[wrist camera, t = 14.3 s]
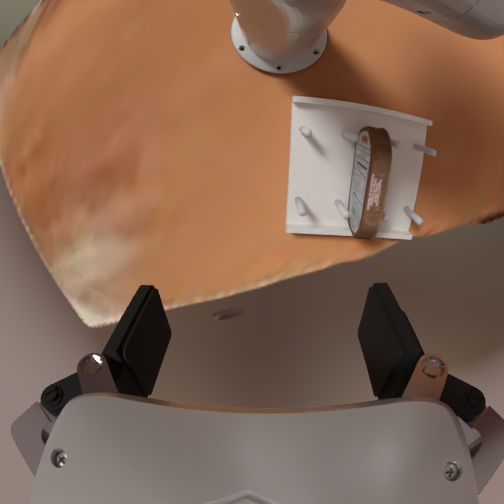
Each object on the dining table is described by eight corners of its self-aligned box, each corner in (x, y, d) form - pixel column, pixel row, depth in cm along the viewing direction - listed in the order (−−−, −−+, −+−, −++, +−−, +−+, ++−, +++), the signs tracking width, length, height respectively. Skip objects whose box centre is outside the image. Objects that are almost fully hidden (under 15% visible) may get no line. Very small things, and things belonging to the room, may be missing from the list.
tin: (360, 224, 39) (378, 252, 32) (340, 223, 39) (356, 251, 32) (373, 125, 32) (400, 132, 24) (352, 122, 32) (375, 126, 24)
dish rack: (291, 96, 32) (296, 93, 26) (423, 119, 31) (445, 123, 25) (285, 225, 41) (287, 244, 36) (404, 232, 40) (420, 250, 35)
